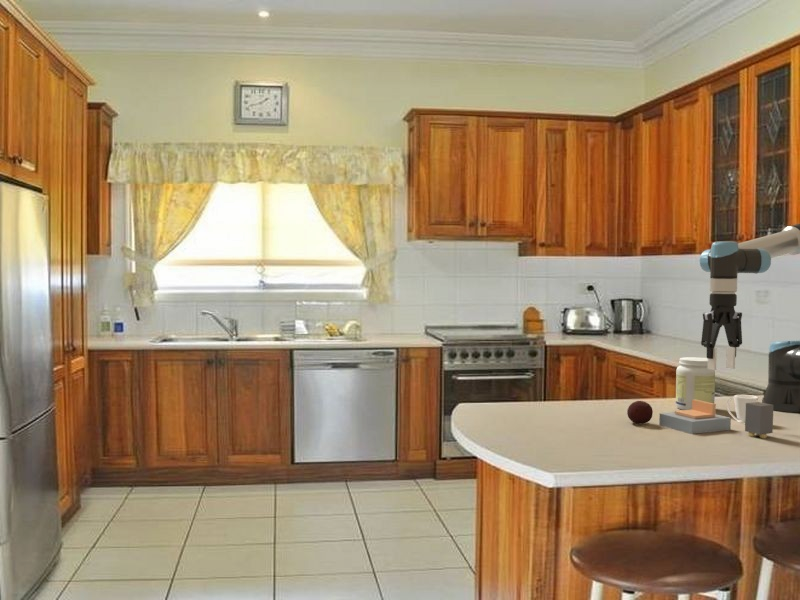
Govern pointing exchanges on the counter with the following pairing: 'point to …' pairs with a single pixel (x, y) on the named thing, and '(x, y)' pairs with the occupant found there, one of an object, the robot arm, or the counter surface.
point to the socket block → (695, 423)
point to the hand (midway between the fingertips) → (721, 368)
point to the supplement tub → (694, 382)
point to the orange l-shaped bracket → (699, 410)
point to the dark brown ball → (640, 412)
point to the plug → (759, 419)
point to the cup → (741, 406)
